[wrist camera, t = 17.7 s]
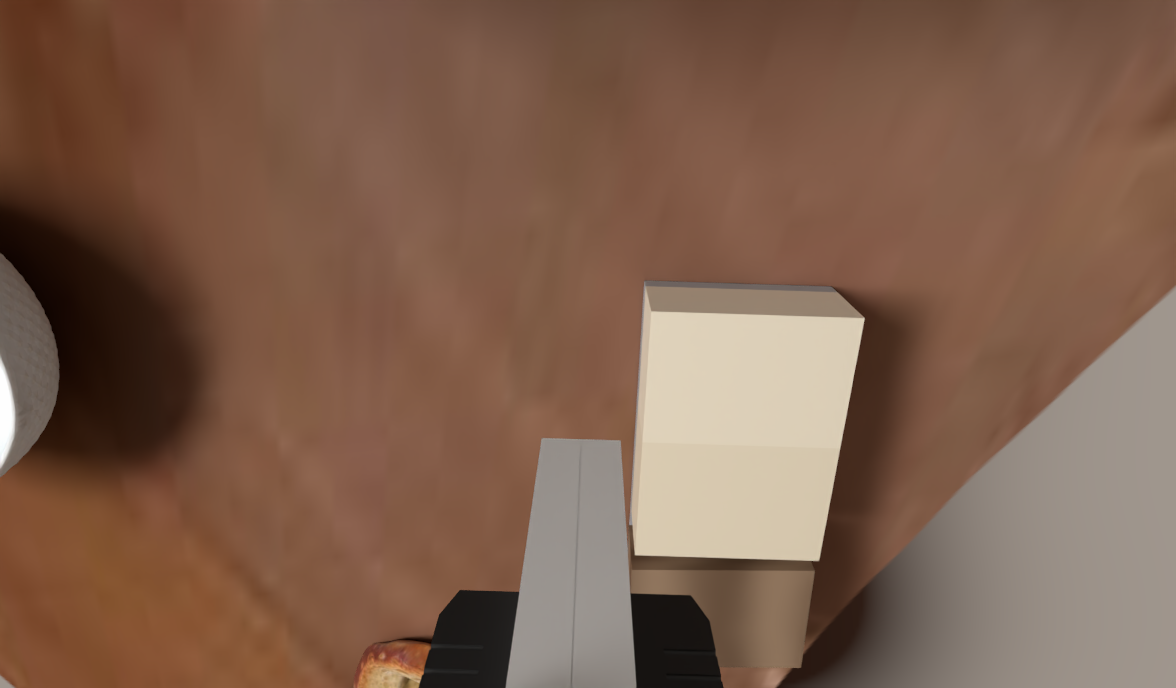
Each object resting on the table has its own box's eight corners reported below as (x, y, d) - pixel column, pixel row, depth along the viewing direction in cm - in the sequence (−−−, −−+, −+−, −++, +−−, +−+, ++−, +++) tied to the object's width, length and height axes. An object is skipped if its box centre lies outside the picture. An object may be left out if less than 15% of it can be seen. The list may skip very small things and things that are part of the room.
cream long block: (623, 623, 46) (626, 685, 41) (644, 280, 37) (651, 311, 33) (774, 627, 46) (794, 690, 41) (831, 286, 37) (864, 318, 33)
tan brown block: (626, 616, 45) (629, 666, 41) (628, 525, 42) (631, 570, 38) (783, 617, 44) (800, 667, 41) (795, 526, 42) (815, 570, 38)
